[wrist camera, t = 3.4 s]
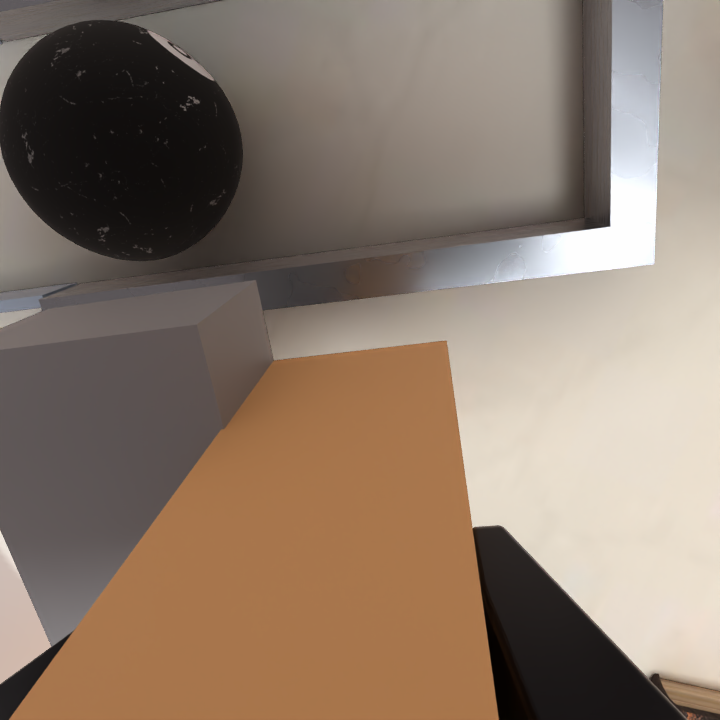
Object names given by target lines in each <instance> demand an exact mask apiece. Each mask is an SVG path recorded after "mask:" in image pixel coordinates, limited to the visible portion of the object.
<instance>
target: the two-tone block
mask: <svg viewBox="0 0 720 720" xmlns="http://www.w3.org/2000/svg"><path fill="white" fill-rule="evenodd" d="M0 530H1V533H2V535H3V537H4V539H5V542H6V544H7V546H8V548H9V551H10V553H11V555H12V558H13V560H14V562H15V564H16V567H17V569H18V571H19V574H20V576H21V578H22V580H23V583H24V585H25V587H26V590H27V592H28V594H29V596H30V599H31V601H32V603H33V606H34V608H35V610H36V612H37V615H38V617H39V619H40V621H41V624H42V626H43V628H44V631H45V633H46V635H47V637H48V640H49V642H50V644H51V647H52V646H53V645H55V644H56V643H57V642H59V641H60V640H61V639H63V638H64V637H66V636H67V635H68V634H70V633H71V632H72V631H73V633H72V634H71V635H70V637H69V638H68V640H67V641H66V642H65V644H64V645H63V646H62V648H61V649H60V651H59V652H58V653H57V655H56V656H55V657H54V659H53V660H52V661H51V663H50V664H49V666H48V667H47V668H46V670H45V671H44V672H43V674H42V675H41V677H40V678H39V679H38V681H37V682H36V683H35V685H34V686H33V687H32V689H31V690H30V692H29V693H28V694H27V696H26V697H25V698H24V700H23V701H22V703H21V704H20V705H19V707H18V708H17V709H16V711H15V712H14V713H13V715H12V716H11V718H10V719H9V720H499V717H498V710H497V703H496V696H495V688H494V681H493V674H492V667H491V659H490V652H489V645H488V638H487V630H486V623H485V616H484V609H483V601H482V594H481V587H480V580H479V572H478V565H477V558H476V551H475V543H474V536H473V529H472V522H471V514H470V507H469V500H468V493H467V485H466V478H465V471H464V464H463V456H462V449H461V442H460V435H459V427H458V420H457V413H456V406H455V398H454V391H453V384H452V377H451V369H450V362H449V355H448V348H447V341H439V342H430V343H421V344H413V345H404V346H395V347H387V348H378V349H369V350H361V351H352V352H344V353H335V354H326V355H318V356H309V357H300V358H292V359H283V360H273V356H272V351H271V346H270V342H269V337H268V333H267V328H266V324H265V319H264V315H263V310H262V306H261V301H260V297H259V292H258V287H257V283H256V280H253V281H245V282H238V283H231V284H224V285H217V286H209V287H202V288H195V289H188V290H181V291H173V292H166V293H159V294H152V295H145V296H137V297H130V298H123V299H116V300H109V301H101V302H94V303H87V304H80V305H73V306H66V307H58V308H51V309H47V310H45V311H42V312H40V313H37V314H35V315H32V316H30V317H28V318H25V319H23V320H20V321H18V322H15V323H13V324H11V325H8V326H6V327H3V328H1V329H0Z"/></svg>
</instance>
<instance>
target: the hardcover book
mask: <svg viewBox="0 0 720 720" xmlns="http://www.w3.org/2000/svg"><path fill="white" fill-rule="evenodd" d="M651 682H652V683H653V684H654V685H655V686H656V687H657V688H658V689H659V690H660V691H661V692H662V693H663V694H664V695H665V696H666V697H667V698H668V699H669V701H670V702H671V703H672V704H673V705H674V706H675V707H676V708H677V709H678V710H679V711H680V712H681V713H682V714H683V715H684V716H685V717H686V718H687V719H688V720H720V692H719V691H714V690H710V689H705V688H701V687H696V686H692V685H687V684H682V683H678V682H673V681H669V680H664V679H660V678H659V674H654V675H653V677H652V679H651Z"/></svg>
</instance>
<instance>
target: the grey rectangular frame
mask: <svg viewBox="0 0 720 720" xmlns="http://www.w3.org/2000/svg"><path fill="white" fill-rule="evenodd" d="M213 1H219V0H0V39H2V40H5V41H11V40H17V39H22V38H27V37H32V36H37V35H43V34H48V33H52V32H54V31H56V30H58V29H60V28H62V27H65V26H67V25H71V24H74V23H78V22H82V21H90V20H111V21H115V20H120V19H125V18H131V17H136V16H141V15H146V14H151V13H156V12H162V11H167V10H172V9H177V8H182V7H188V6H193V5H198V4H203V3H208V2H213ZM662 20H663V0H583V109H584V218H581V219H573V220H566V221H558V222H550V223H543V224H535V225H527V226H520V227H512V228H504V229H496V230H489V231H481V232H473V233H466V234H458V235H450V236H442V237H435V238H427V239H419V240H412V241H404V242H396V243H389V244H381V245H373V246H365V247H358V248H350V249H342V250H335V251H327V252H319V253H311V254H304V255H296V256H288V257H281V258H273V259H265V260H258V261H250V262H242V263H234V264H227V265H219V266H211V267H204V268H196V269H188V270H180V271H173V272H165V273H157V274H150V275H142V276H134V277H126V278H119V279H111V280H103V281H96V282H88V283H81V284H79V285H76V286H73V287H71V288H68V289H65V290H63V291H60V292H57V293H55V294H52V295H49V296H47V297H44V298H41V299H39V303H40V306H41V309H42V311H45V310H47V309H51V308H58V307H66V306H73V305H80V304H87V303H94V302H101V301H109V300H116V299H123V298H130V297H137V296H145V295H152V294H159V293H166V292H173V291H181V290H188V289H195V288H202V287H209V286H217V285H224V284H231V283H238V282H245V281H253V280H256V283H257V287H258V292H259V297H260V301H261V306H262V310H270V309H278V308H287V307H295V306H304V305H312V304H321V303H329V302H337V301H346V300H354V299H363V298H371V297H380V296H388V295H397V294H405V293H414V292H422V291H431V290H439V289H448V288H456V287H465V286H473V285H482V284H490V283H499V282H507V281H516V280H524V279H533V278H541V277H550V276H558V275H567V274H575V273H584V272H592V271H601V270H609V269H618V268H626V267H635V266H643V265H652V264H654V260H655V230H656V200H657V170H658V140H659V110H660V80H661V50H662Z"/></svg>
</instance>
